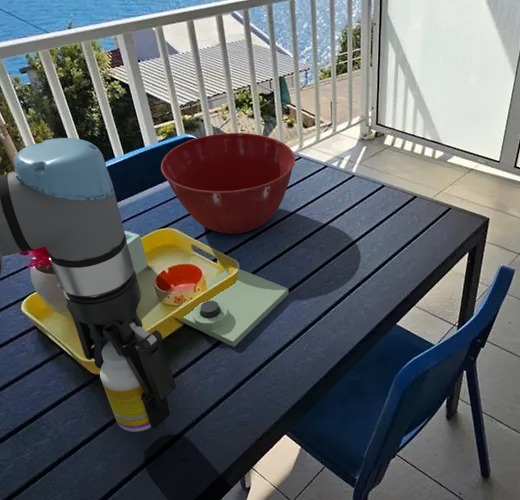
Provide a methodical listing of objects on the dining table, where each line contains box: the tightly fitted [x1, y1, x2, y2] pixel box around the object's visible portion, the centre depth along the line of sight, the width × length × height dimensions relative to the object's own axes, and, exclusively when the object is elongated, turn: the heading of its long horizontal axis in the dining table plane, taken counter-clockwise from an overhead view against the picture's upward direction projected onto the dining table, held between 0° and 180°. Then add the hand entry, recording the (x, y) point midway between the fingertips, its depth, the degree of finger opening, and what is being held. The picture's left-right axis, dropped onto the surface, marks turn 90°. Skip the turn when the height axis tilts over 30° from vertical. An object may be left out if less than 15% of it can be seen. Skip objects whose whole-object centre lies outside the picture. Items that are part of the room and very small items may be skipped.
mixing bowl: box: [160, 132, 296, 235], centre depth 113 cm, size 28×28×15 cm
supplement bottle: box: [99, 341, 152, 433], centre depth 66 cm, size 7×7×13 cm
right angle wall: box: [124, 230, 149, 276], centre depth 97 cm, size 12×12×8 cm
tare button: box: [201, 301, 219, 318], centre depth 87 cm, size 3×3×2 cm
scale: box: [172, 268, 290, 348], centre depth 92 cm, size 16×14×3 cm
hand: (141, 408), depth 69 cm, fingers closed on supplement bottle, 7 cm apart
